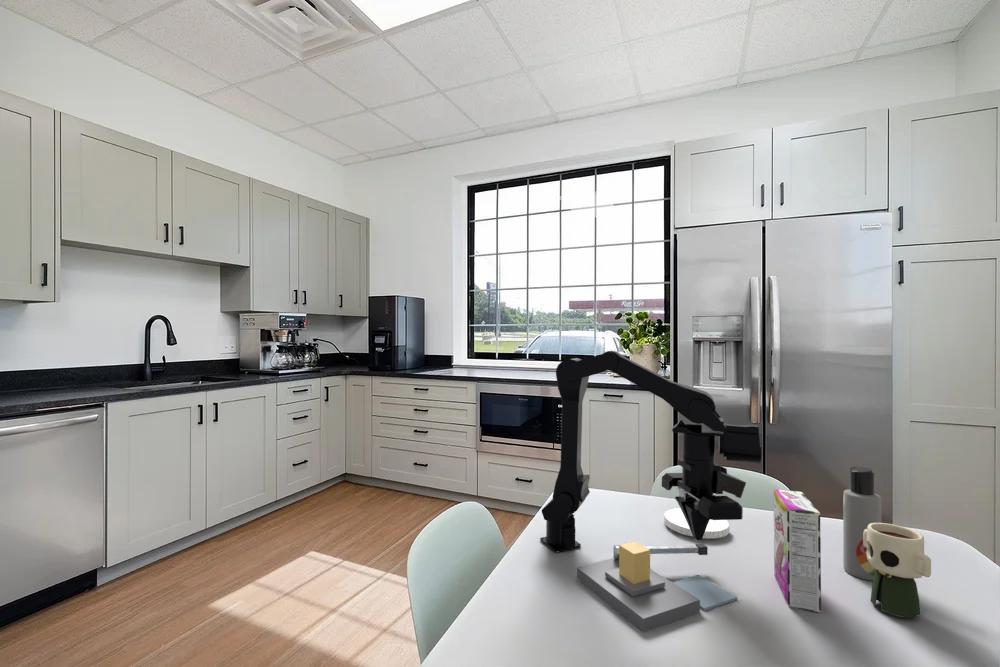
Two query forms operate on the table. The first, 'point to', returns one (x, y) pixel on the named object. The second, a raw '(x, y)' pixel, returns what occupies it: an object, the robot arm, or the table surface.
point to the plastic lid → (679, 524)
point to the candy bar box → (797, 550)
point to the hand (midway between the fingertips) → (697, 539)
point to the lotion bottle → (859, 521)
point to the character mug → (896, 567)
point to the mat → (705, 592)
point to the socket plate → (639, 597)
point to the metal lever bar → (670, 550)
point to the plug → (634, 570)
